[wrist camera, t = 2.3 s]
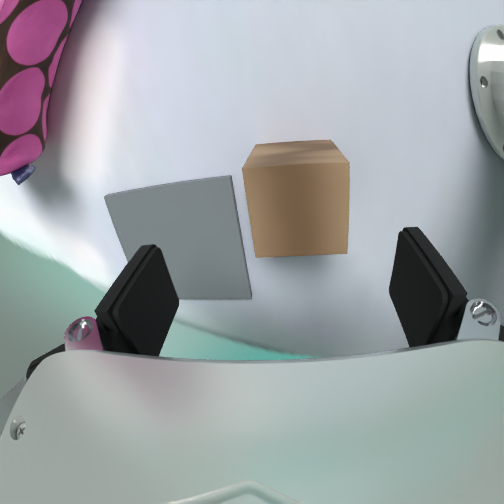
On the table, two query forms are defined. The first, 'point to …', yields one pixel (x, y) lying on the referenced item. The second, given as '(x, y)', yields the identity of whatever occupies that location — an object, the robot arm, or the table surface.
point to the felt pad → (187, 234)
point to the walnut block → (298, 198)
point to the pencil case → (28, 76)
